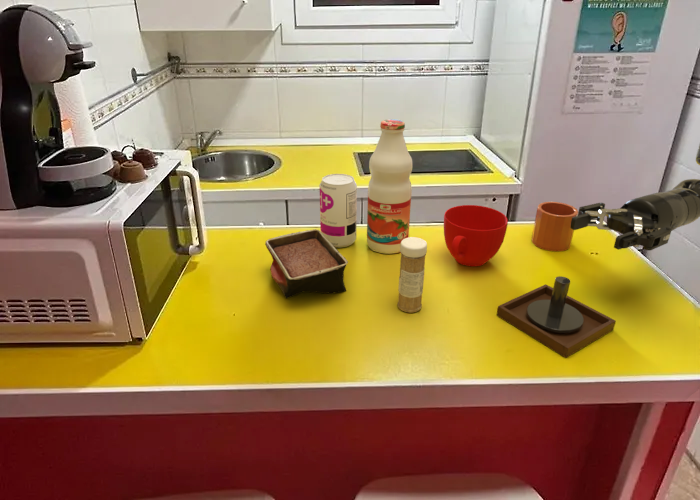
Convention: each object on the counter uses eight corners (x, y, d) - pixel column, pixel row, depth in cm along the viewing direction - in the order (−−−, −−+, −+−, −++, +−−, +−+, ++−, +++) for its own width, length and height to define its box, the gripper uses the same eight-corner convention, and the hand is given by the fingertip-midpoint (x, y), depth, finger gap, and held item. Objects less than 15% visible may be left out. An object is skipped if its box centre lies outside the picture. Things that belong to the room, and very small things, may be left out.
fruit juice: (412, 239, 120) (420, 118, 107) (401, 258, 112) (409, 129, 99) (373, 233, 123) (377, 114, 110) (360, 250, 115) (363, 125, 102)
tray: (613, 330, 90) (616, 320, 89) (565, 358, 83) (568, 348, 82) (543, 292, 100) (545, 284, 99) (496, 315, 93) (497, 306, 93)
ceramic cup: (421, 270, 108) (425, 227, 103) (454, 240, 120) (459, 200, 115) (481, 289, 101) (487, 243, 97) (509, 255, 114) (516, 213, 109)
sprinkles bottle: (404, 297, 99) (408, 233, 92) (426, 305, 96) (432, 240, 90) (392, 308, 95) (395, 243, 89) (414, 316, 93) (419, 250, 87)
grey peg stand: (593, 324, 90) (604, 283, 87) (559, 342, 86) (570, 301, 82) (548, 299, 97) (556, 261, 93) (514, 315, 93) (522, 275, 89)
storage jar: (577, 245, 118) (585, 210, 114) (554, 254, 114) (562, 219, 110) (546, 231, 124) (553, 198, 120) (523, 240, 120) (530, 206, 116)
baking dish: (279, 318, 96) (282, 275, 90) (261, 261, 109) (263, 221, 103) (353, 309, 100) (360, 267, 95) (326, 255, 114) (331, 216, 108)
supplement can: (328, 251, 115) (327, 187, 108) (315, 236, 121) (313, 175, 114) (362, 245, 118) (363, 182, 111) (347, 230, 124) (347, 170, 117)
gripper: (622, 183, 97) (563, 198, 90) (700, 208, 86) (639, 228, 79) (613, 220, 100) (555, 237, 93) (686, 249, 89) (627, 271, 82)
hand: (594, 233), depth 86 cm, fingers open, 8 cm apart
